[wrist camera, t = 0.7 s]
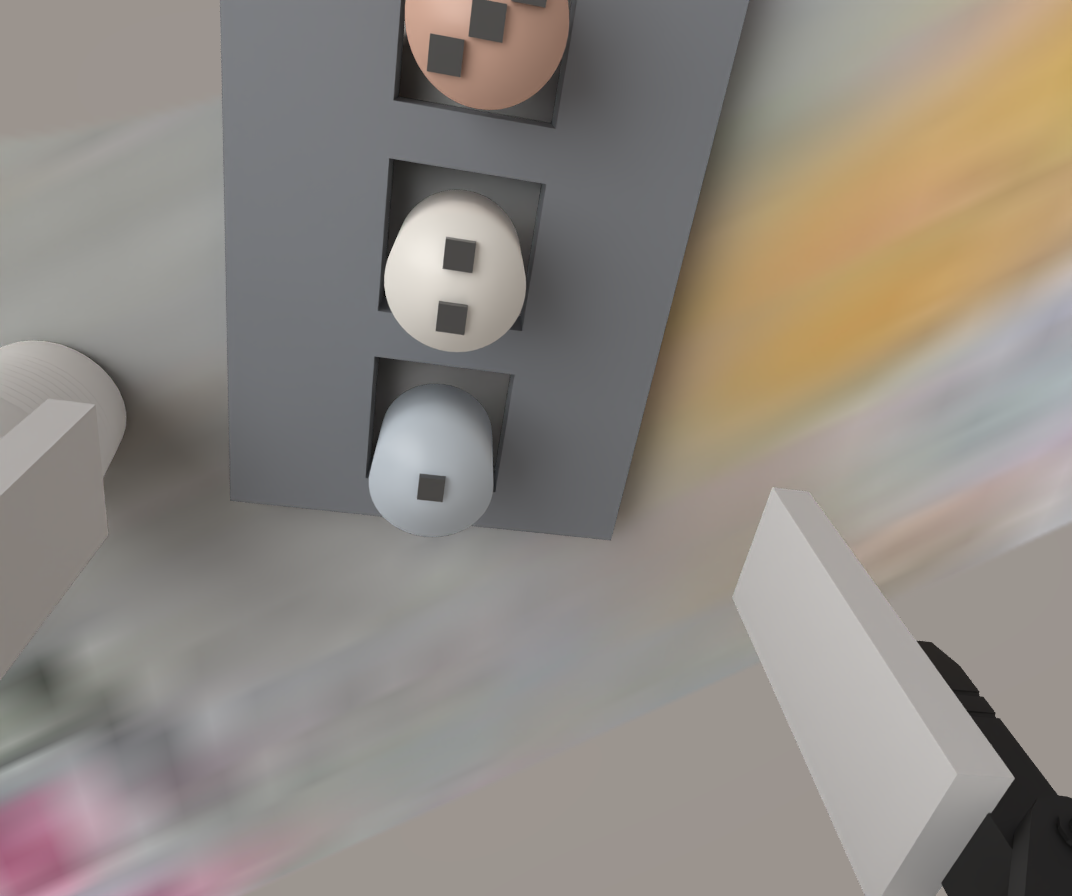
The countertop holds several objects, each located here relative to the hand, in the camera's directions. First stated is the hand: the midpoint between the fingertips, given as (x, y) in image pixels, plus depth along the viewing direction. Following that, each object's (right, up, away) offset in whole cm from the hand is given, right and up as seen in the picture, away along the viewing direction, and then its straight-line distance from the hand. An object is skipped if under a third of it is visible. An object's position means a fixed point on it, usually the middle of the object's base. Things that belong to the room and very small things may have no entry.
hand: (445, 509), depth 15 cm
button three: (0, +16, +12) cm, 20 cm away
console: (-1, +10, +18) cm, 20 cm away
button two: (-1, +9, +15) cm, 18 cm away
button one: (-3, +2, +19) cm, 19 cm away
